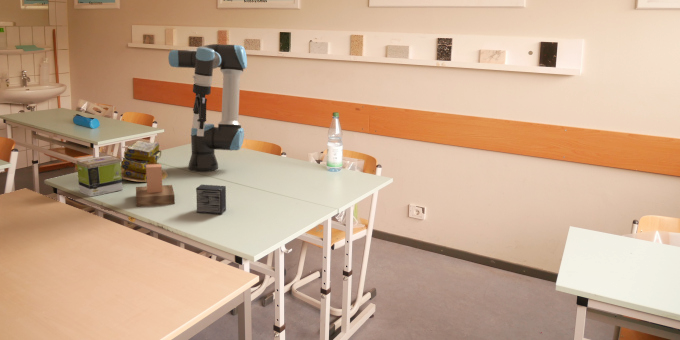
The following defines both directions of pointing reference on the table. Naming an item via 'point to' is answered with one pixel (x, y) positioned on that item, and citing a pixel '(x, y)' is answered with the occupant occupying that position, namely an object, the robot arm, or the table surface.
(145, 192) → the walnut plinth
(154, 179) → the terracotta block
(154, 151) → the stacked packets on plate
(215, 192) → the small box
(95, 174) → the tea box
